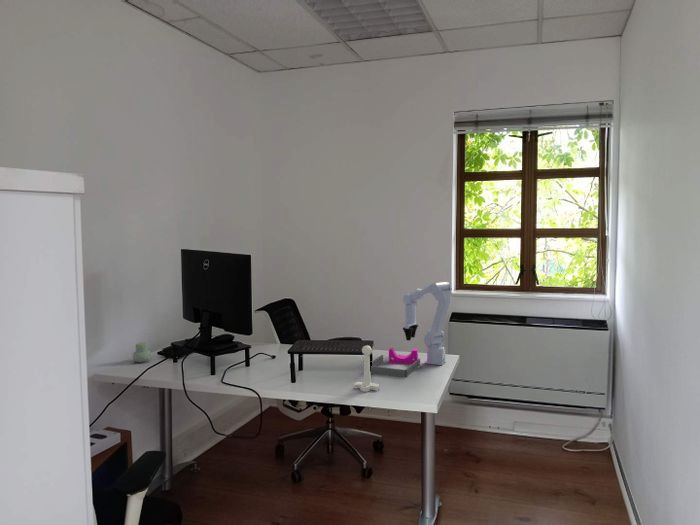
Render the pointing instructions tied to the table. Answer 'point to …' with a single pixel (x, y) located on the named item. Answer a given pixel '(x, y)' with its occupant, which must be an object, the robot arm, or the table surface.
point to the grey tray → (391, 370)
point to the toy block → (403, 357)
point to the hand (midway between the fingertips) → (410, 338)
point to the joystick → (366, 373)
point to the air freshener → (141, 353)
